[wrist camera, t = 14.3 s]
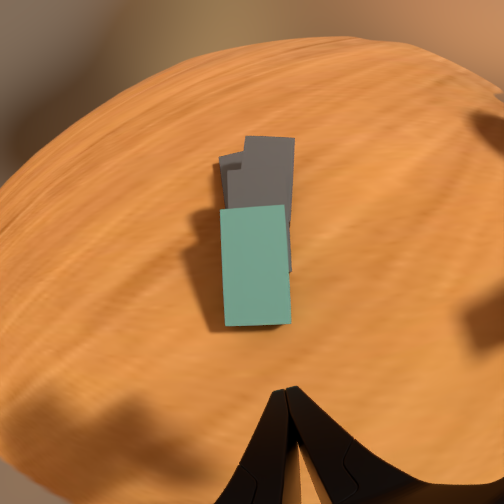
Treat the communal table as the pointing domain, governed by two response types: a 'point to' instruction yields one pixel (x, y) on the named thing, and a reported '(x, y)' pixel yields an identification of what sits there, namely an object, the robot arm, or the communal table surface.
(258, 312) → the domino
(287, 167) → the domino
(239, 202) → the domino
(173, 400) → the communal table surface
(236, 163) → the domino end
